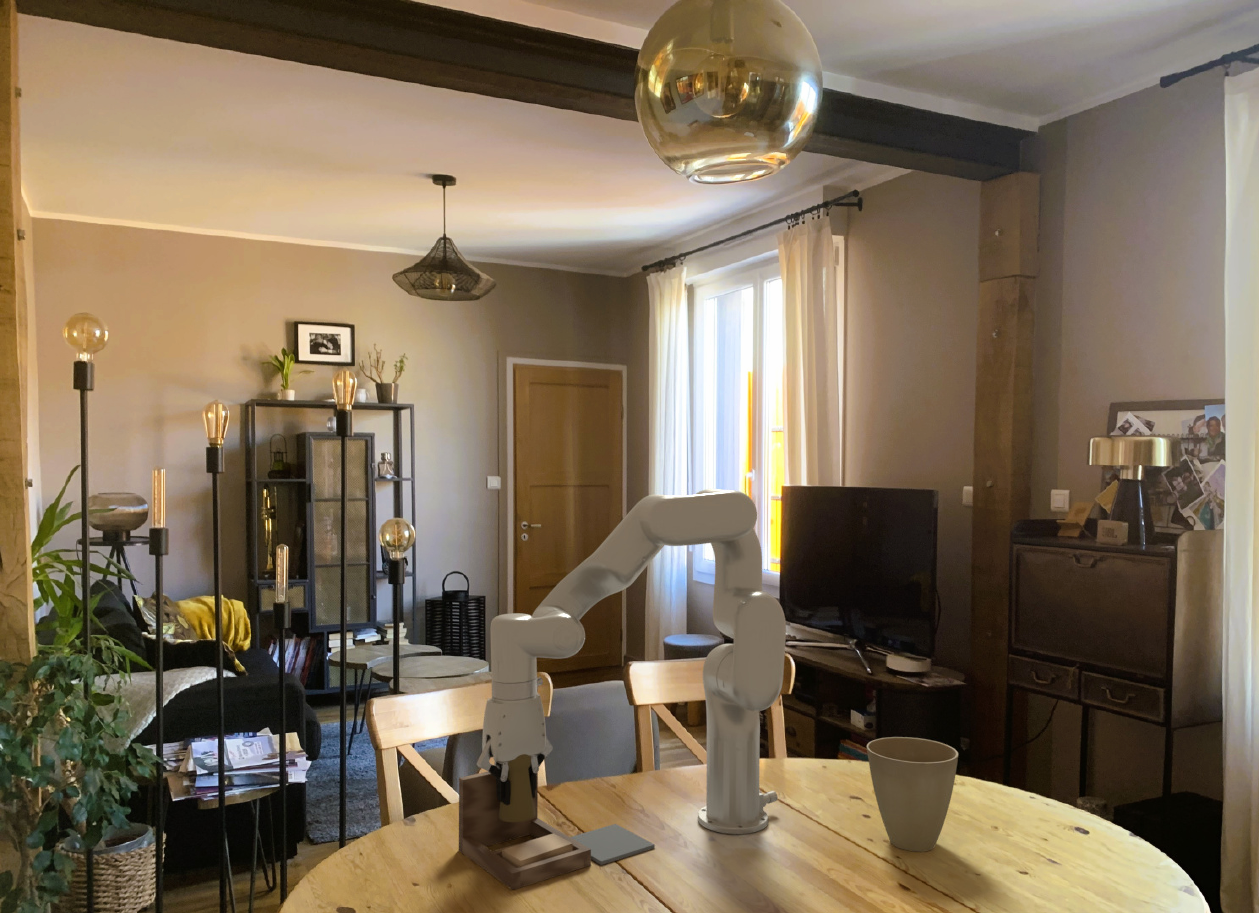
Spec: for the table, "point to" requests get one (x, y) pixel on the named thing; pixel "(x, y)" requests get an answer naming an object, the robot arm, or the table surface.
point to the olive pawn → (518, 792)
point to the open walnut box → (507, 835)
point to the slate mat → (612, 843)
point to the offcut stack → (536, 850)
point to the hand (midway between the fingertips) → (516, 798)
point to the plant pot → (912, 788)
